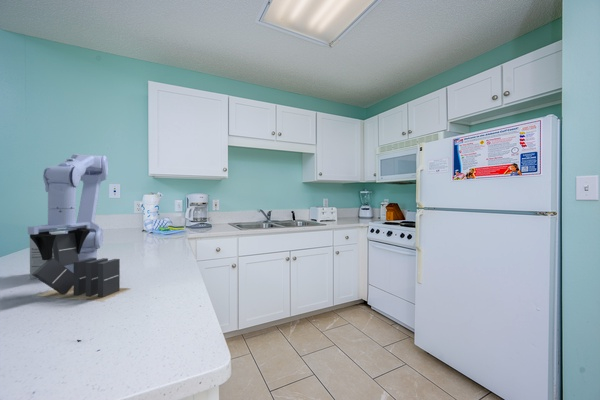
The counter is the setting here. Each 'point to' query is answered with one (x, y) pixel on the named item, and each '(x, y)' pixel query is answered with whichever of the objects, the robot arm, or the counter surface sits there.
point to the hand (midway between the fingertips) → (61, 256)
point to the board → (81, 297)
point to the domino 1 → (55, 276)
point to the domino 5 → (108, 277)
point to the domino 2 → (65, 249)
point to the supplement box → (38, 256)
